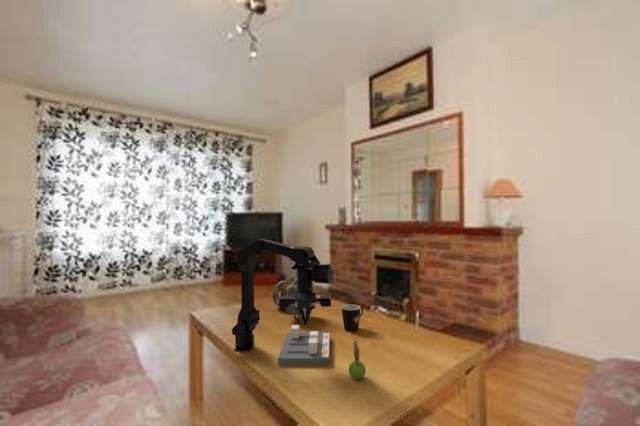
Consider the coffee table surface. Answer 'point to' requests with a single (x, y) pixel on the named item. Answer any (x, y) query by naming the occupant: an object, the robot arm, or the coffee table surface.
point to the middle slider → (314, 335)
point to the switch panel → (304, 351)
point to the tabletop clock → (292, 292)
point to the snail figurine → (356, 364)
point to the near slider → (312, 345)
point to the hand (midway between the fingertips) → (305, 324)
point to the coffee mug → (351, 317)
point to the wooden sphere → (280, 291)
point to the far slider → (295, 331)
